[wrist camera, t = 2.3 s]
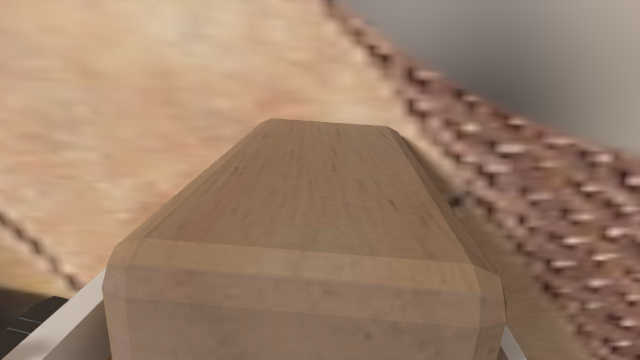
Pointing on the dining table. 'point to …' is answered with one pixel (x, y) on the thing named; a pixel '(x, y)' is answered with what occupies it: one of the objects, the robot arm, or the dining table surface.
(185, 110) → the dining table surface
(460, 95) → the dining table surface
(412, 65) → the dining table surface
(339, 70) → the dining table surface
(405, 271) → the block
